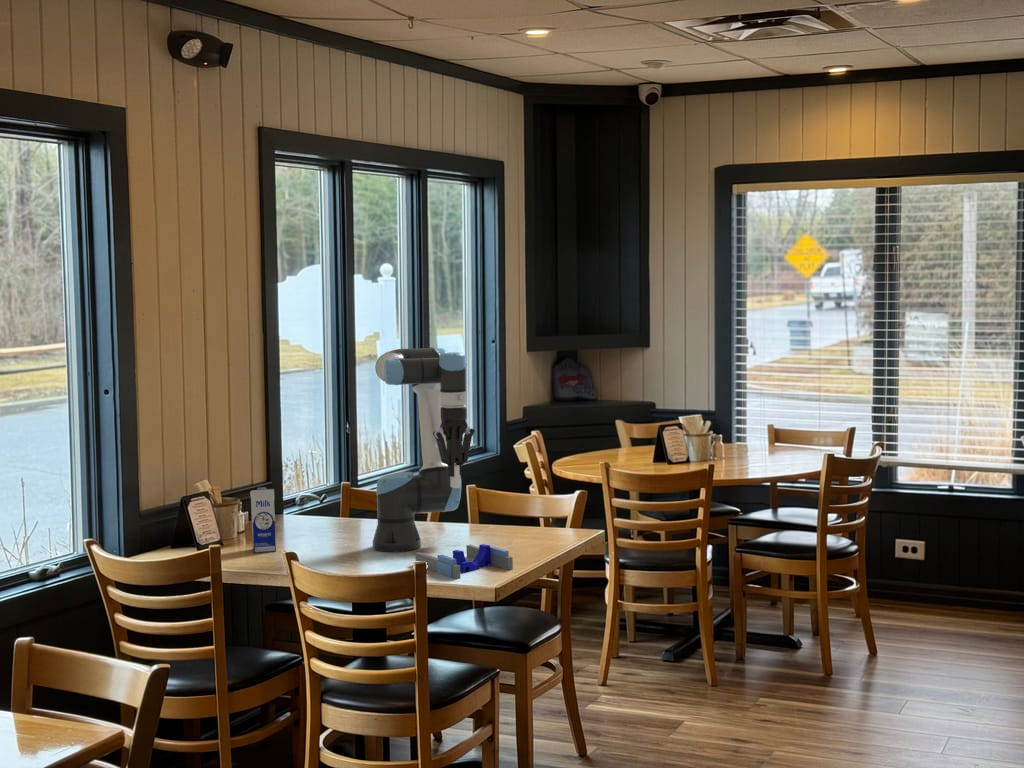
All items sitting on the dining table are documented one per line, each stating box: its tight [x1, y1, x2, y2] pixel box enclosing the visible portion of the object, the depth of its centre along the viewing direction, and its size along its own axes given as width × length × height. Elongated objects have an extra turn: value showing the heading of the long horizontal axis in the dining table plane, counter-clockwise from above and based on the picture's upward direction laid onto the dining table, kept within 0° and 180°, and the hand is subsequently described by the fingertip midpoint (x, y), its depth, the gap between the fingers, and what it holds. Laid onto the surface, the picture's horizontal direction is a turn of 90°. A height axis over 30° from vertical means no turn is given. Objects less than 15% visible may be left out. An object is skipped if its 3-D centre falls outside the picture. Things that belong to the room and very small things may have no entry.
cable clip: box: [452, 543, 492, 574], centre depth 346 cm, size 12×4×6 cm, turn 135°
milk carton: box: [249, 486, 277, 554], centre depth 377 cm, size 7×7×20 cm
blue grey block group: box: [415, 544, 514, 580], centre depth 347 cm, size 23×19×5 cm
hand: (455, 487), depth 346 cm, fingers closed
